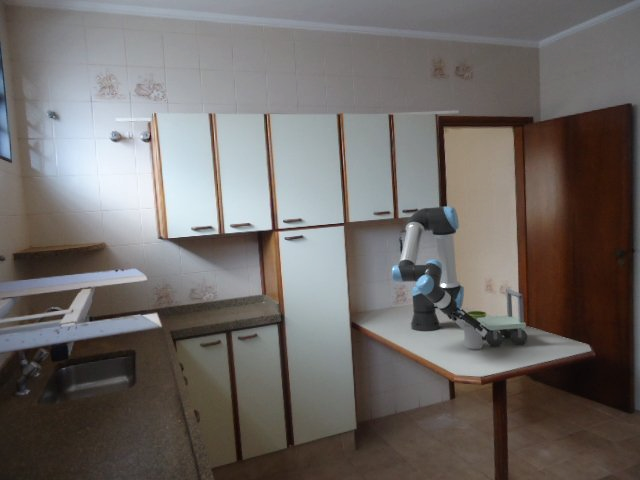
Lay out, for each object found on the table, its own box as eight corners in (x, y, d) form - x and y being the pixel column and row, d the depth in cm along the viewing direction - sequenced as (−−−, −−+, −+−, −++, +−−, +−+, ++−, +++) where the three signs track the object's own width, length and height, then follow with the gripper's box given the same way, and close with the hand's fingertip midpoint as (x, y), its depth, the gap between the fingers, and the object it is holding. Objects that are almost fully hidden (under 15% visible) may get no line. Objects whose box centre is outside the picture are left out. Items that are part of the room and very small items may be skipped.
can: (483, 345, 208) (481, 319, 207) (481, 350, 201) (480, 324, 201) (466, 345, 211) (464, 319, 211) (464, 349, 205) (462, 323, 204)
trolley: (476, 338, 220) (473, 291, 219) (513, 335, 221) (511, 288, 219) (488, 348, 204) (486, 297, 203) (528, 345, 205) (526, 294, 203)
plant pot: (484, 326, 240) (483, 310, 239) (489, 331, 230) (488, 314, 230) (466, 327, 241) (465, 311, 240) (470, 332, 231) (469, 315, 231)
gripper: (424, 304, 212) (453, 331, 217) (457, 314, 188) (489, 344, 194) (433, 291, 213) (462, 318, 219) (467, 300, 189) (498, 330, 195)
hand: (475, 330), depth 206 cm, fingers open, 13 cm apart
